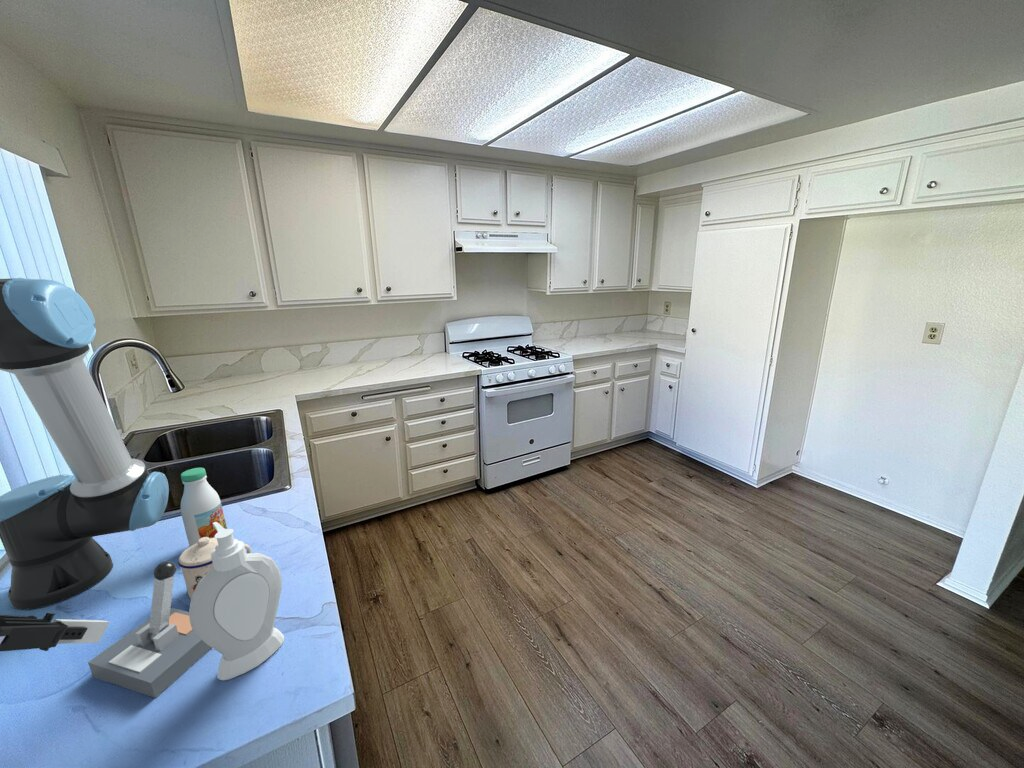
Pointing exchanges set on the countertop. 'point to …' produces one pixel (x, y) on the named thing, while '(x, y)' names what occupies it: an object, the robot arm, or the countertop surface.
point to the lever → (161, 598)
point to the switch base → (151, 656)
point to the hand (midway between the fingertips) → (100, 631)
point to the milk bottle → (200, 506)
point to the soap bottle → (237, 606)
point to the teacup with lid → (198, 562)
